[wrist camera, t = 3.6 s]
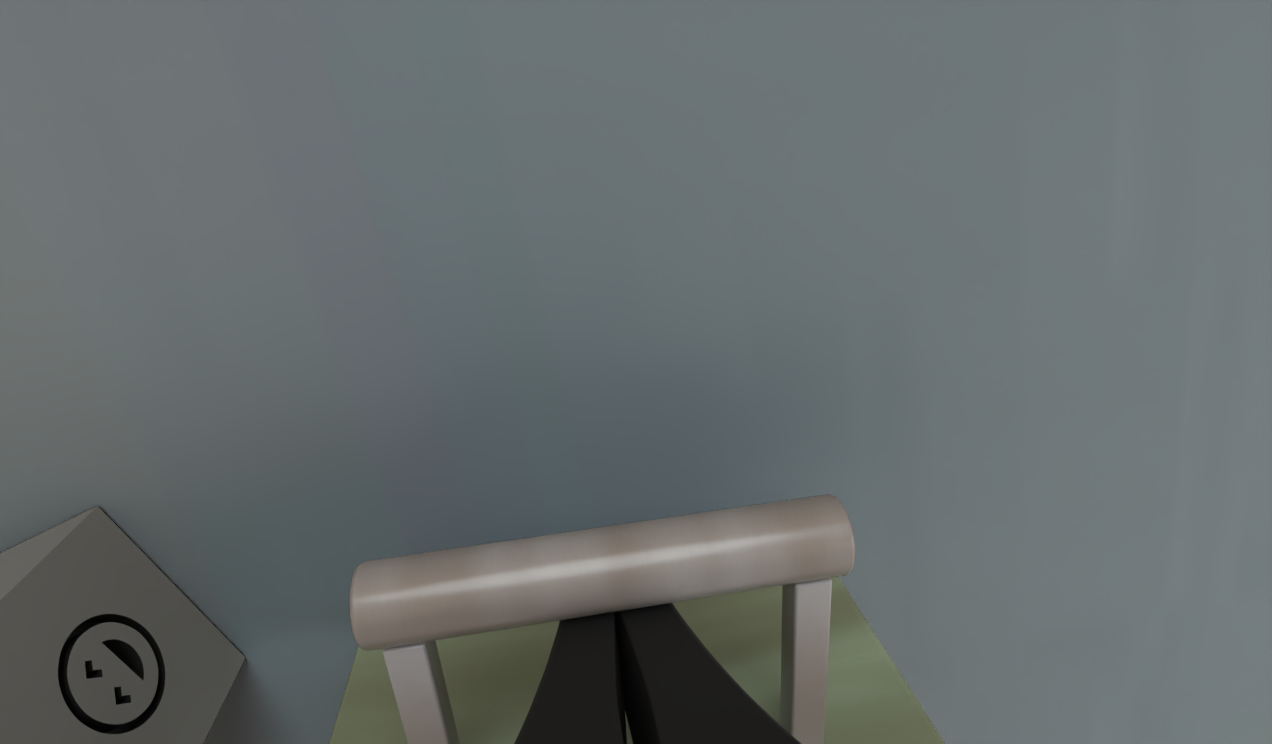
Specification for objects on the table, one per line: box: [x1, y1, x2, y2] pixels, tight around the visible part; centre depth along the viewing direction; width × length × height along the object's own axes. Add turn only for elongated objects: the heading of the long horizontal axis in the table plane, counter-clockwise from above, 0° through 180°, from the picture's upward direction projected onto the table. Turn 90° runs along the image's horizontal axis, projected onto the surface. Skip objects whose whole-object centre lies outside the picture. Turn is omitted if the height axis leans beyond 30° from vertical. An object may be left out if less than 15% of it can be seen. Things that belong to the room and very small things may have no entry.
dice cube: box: [0, 506, 245, 744], centre depth 14 cm, size 5×5×5 cm
